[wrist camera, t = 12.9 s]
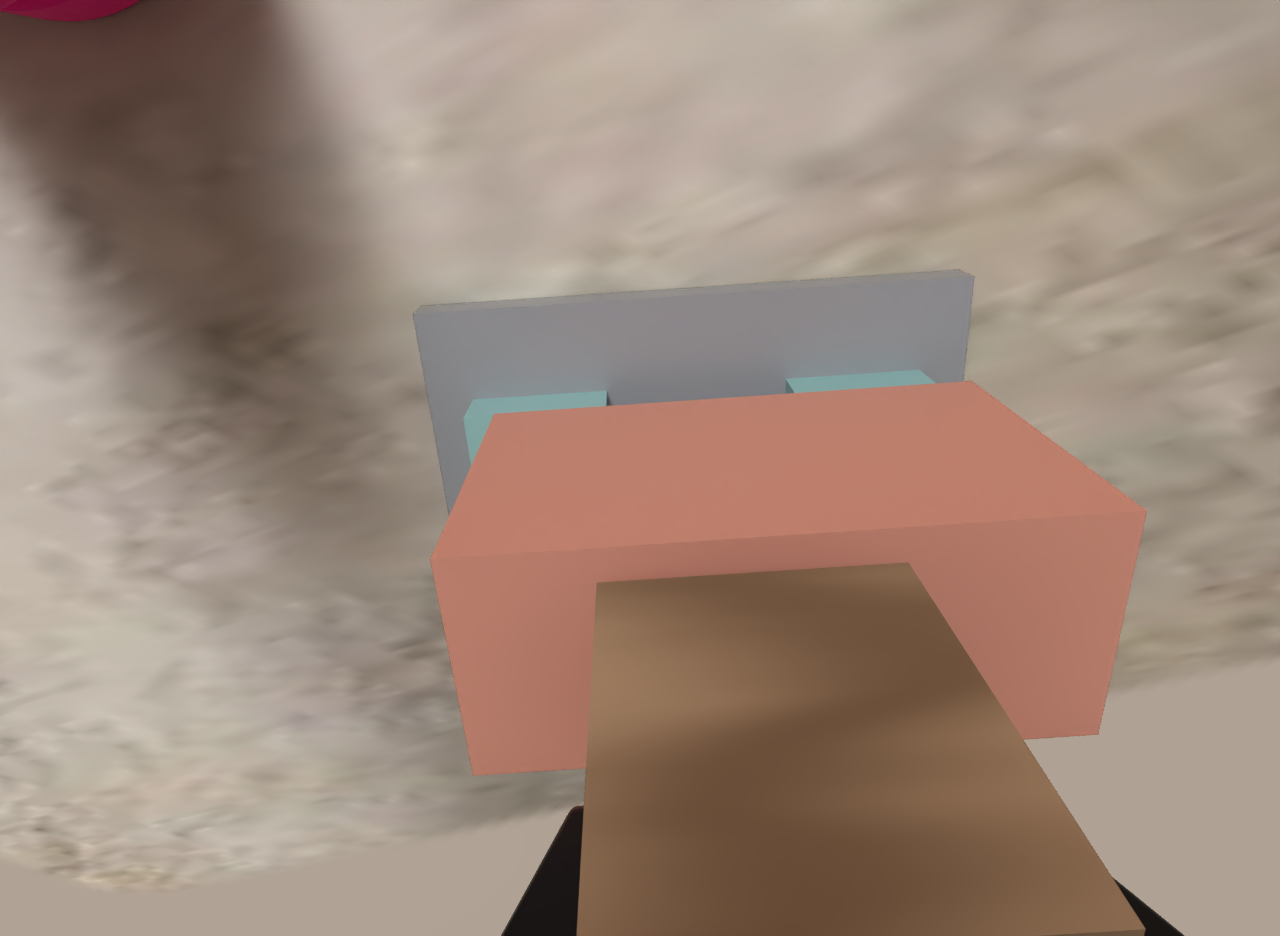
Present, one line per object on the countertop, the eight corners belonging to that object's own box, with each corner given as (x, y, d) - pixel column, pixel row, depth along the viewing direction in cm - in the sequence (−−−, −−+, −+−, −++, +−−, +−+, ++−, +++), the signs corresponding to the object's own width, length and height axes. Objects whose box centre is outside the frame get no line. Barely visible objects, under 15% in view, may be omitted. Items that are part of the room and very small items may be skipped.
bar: (971, 380, 16) (1147, 511, 11) (952, 547, 18) (1097, 734, 13) (493, 413, 16) (430, 558, 11) (518, 577, 18) (473, 775, 13)
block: (907, 562, 10) (1145, 928, 6) (888, 795, 12) (1058, 1228, 7) (596, 582, 10) (574, 964, 6) (619, 811, 12) (616, 1254, 7)
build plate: (959, 269, 17) (998, 287, 16) (928, 578, 21) (959, 622, 19) (421, 305, 18) (398, 327, 16) (474, 607, 21) (460, 654, 19)
